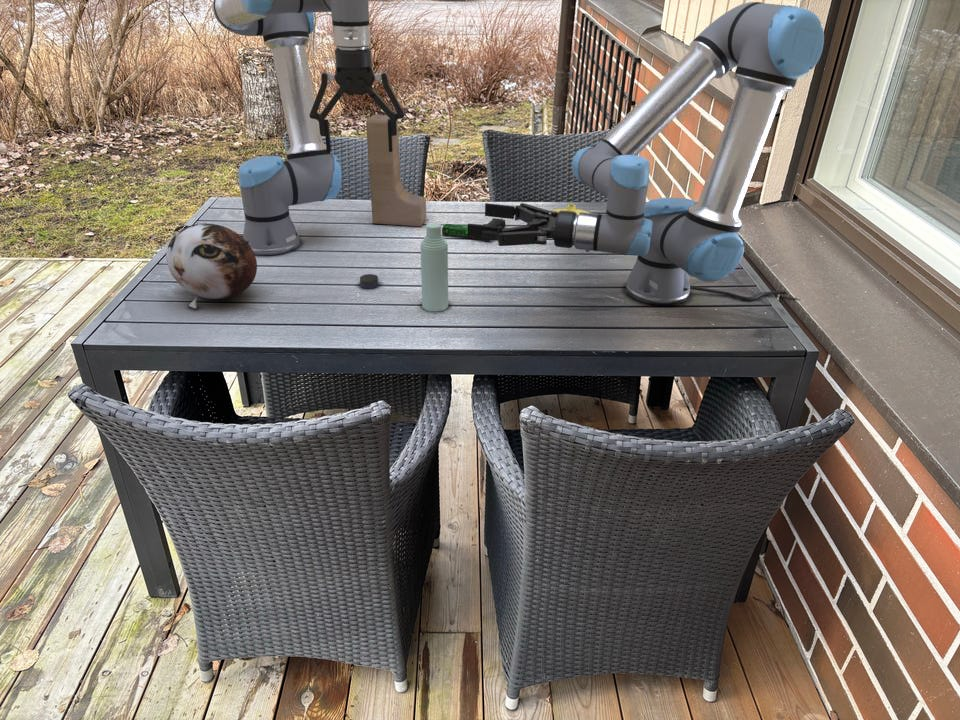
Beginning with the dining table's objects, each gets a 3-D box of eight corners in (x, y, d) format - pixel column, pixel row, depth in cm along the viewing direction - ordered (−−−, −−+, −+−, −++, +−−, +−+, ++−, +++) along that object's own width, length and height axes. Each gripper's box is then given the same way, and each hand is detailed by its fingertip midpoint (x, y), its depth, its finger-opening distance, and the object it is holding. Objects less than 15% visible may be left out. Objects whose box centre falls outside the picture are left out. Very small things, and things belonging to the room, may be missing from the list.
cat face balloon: (130, 285, 161) (164, 203, 163) (192, 308, 177) (221, 233, 178) (195, 307, 151) (229, 220, 152) (254, 330, 166) (285, 250, 168)
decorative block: (421, 227, 210) (418, 122, 195) (372, 224, 212) (365, 119, 197) (426, 218, 217) (424, 116, 201) (378, 215, 218) (372, 114, 203)
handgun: (511, 219, 210) (493, 234, 198) (511, 228, 211) (492, 244, 199) (461, 212, 215) (440, 226, 203) (461, 221, 217) (440, 236, 204)
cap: (370, 279, 178) (370, 272, 177) (382, 285, 176) (381, 277, 175) (356, 285, 176) (356, 277, 175) (368, 290, 173) (367, 283, 172)
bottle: (446, 312, 164) (445, 230, 154) (420, 311, 164) (417, 229, 154) (449, 300, 169) (448, 220, 159) (424, 299, 169) (421, 219, 159)
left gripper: (289, 49, 144) (301, 155, 155) (413, 50, 146) (416, 154, 157) (293, 44, 150) (304, 147, 161) (412, 45, 152) (415, 145, 163)
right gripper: (563, 270, 140) (459, 257, 145) (582, 227, 160) (491, 217, 165) (566, 233, 136) (459, 222, 141) (585, 194, 157) (492, 185, 161)
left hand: (360, 150), depth 159 cm, fingers open, 13 cm apart
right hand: (476, 219), depth 153 cm, fingers open, 13 cm apart
